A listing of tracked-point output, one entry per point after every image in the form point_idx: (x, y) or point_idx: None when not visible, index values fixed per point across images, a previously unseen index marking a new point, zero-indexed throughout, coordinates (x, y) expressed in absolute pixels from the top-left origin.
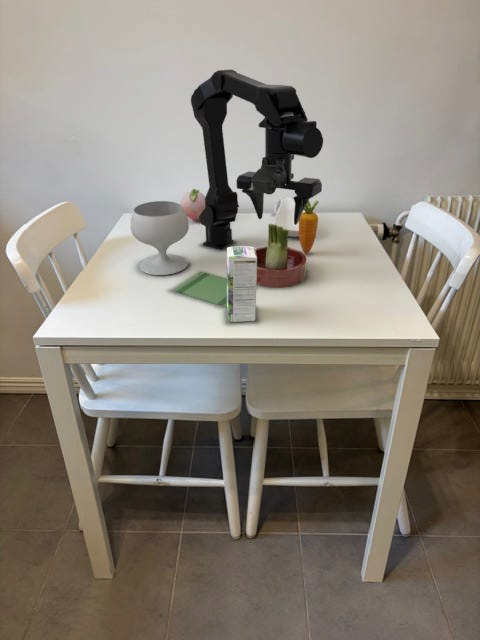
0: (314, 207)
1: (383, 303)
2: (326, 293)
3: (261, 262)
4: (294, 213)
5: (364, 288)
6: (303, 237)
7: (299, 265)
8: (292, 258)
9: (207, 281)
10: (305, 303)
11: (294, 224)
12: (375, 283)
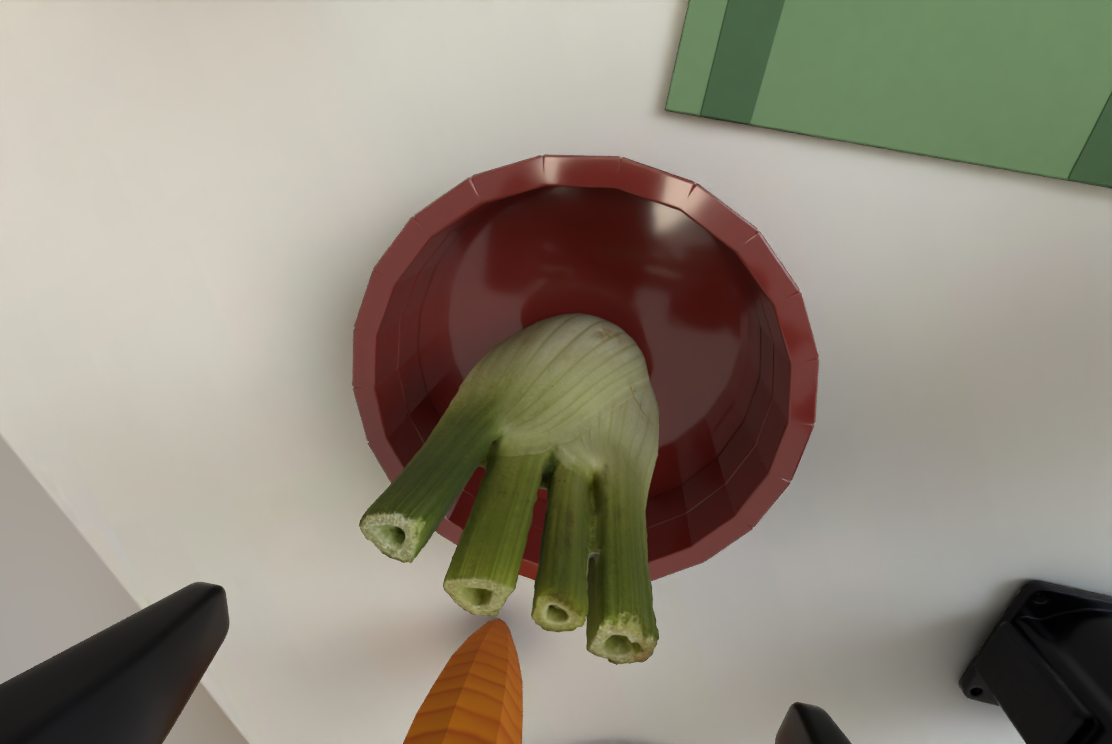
0: None
1: None
2: (223, 211)
3: (707, 464)
4: (5, 740)
5: (96, 339)
6: (476, 695)
7: (368, 333)
8: None
9: (1070, 37)
10: (267, 19)
11: (222, 587)
12: (83, 407)
